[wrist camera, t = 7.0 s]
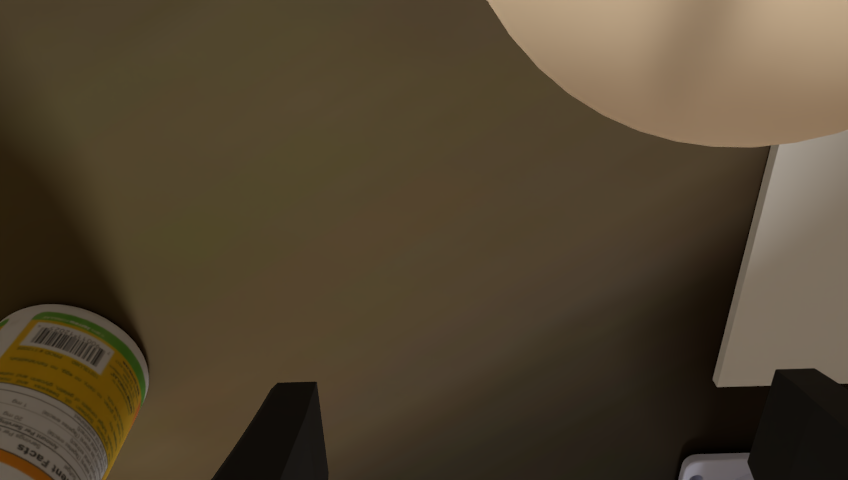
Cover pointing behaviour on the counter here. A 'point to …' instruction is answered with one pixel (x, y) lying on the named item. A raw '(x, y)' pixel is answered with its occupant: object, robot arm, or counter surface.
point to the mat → (793, 270)
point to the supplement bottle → (66, 393)
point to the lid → (696, 64)
